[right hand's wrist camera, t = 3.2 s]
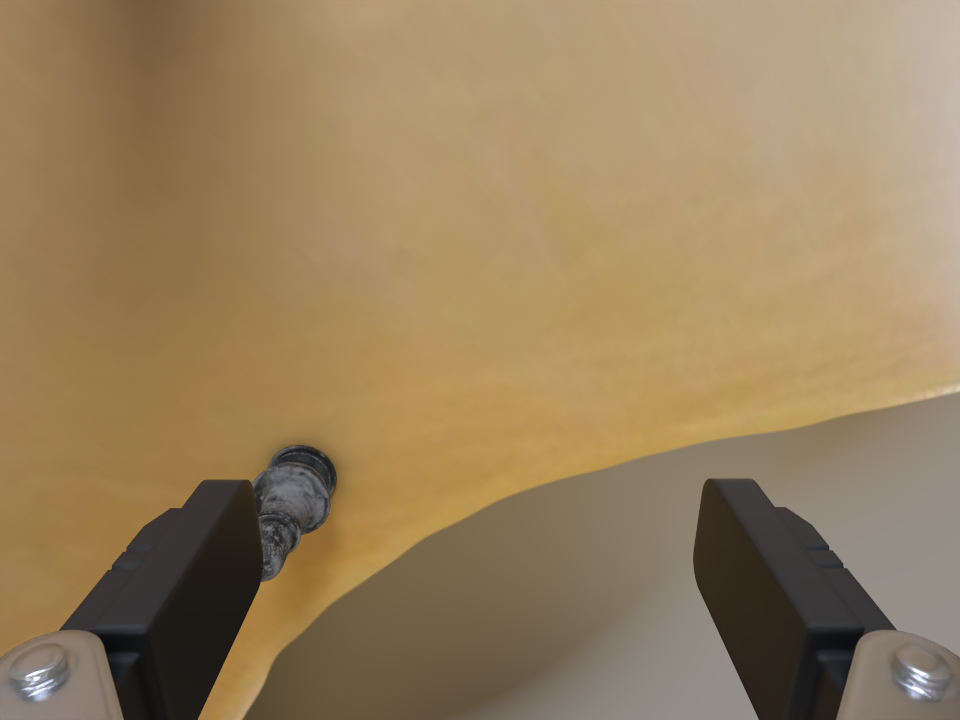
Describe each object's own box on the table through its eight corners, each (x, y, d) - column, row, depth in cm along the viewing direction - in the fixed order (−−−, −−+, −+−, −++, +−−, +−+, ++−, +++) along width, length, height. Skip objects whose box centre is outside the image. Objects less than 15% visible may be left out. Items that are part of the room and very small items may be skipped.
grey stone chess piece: (355, 481, 50) (319, 588, 39) (300, 520, 51) (250, 635, 40) (303, 427, 48) (249, 523, 37) (247, 469, 49) (179, 574, 38)
